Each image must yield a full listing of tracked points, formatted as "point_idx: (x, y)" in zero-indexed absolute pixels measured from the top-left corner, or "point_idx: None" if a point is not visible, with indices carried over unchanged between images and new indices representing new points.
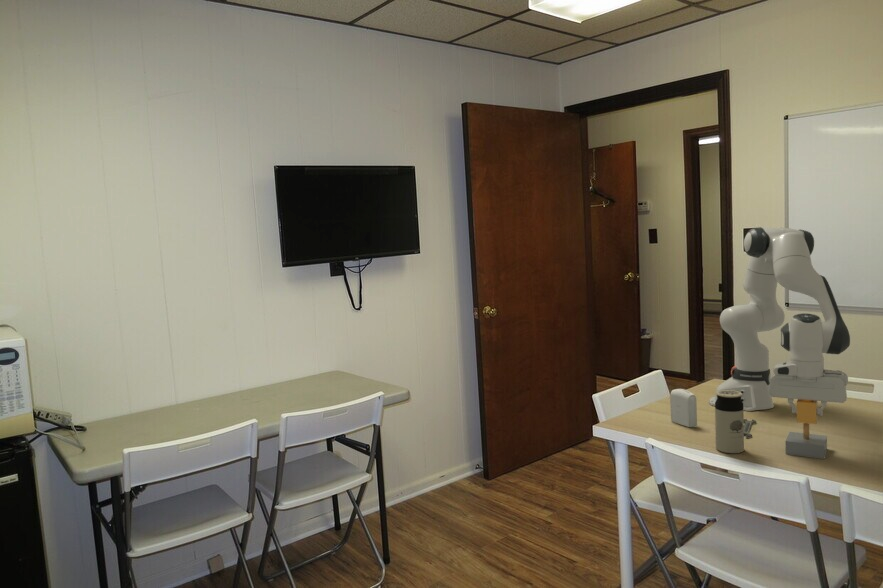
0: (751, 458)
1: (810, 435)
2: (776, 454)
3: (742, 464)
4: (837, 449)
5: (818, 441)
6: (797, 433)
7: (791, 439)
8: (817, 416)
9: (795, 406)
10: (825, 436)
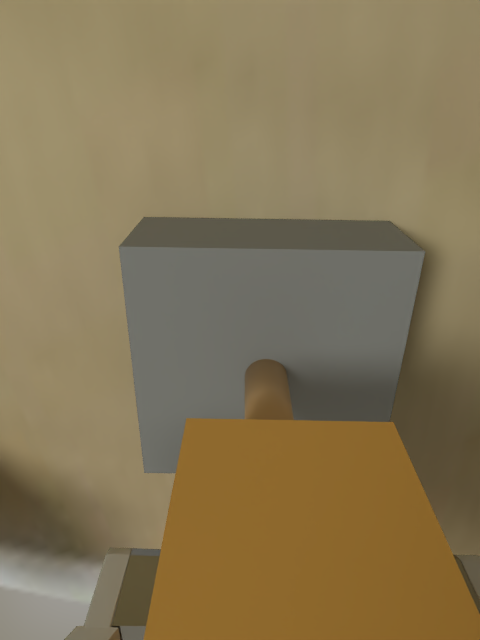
0: (33, 519)
1: (293, 293)
2: (119, 434)
3: (30, 585)
4: (459, 205)
5: (347, 411)
6: (188, 275)
7: (173, 434)
8: (405, 456)
9: (128, 630)
10: (410, 274)
